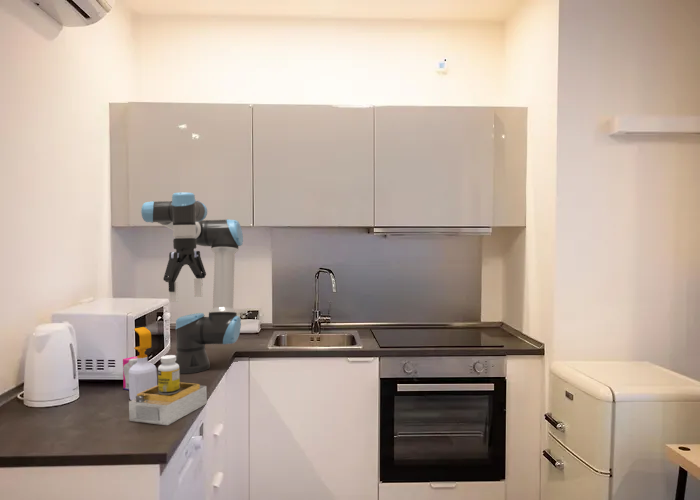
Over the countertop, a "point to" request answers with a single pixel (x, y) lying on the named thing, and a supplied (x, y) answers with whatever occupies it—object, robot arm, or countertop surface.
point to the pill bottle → (168, 376)
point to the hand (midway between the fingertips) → (186, 299)
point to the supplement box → (127, 370)
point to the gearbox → (167, 404)
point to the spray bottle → (142, 367)
